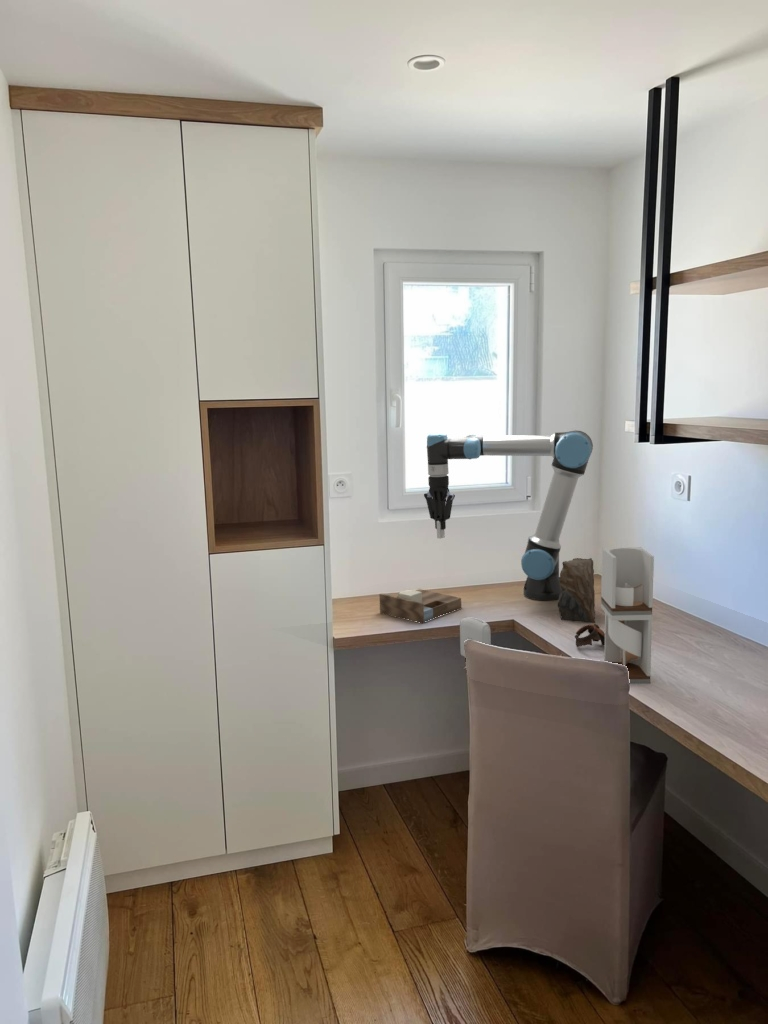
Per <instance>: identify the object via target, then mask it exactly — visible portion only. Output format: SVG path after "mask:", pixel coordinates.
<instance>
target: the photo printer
mask: <svg viewBox="0 0 768 1024" xmlns="http://www.w3.org/2000/svg"><path fill="white" fill-rule="evenodd" d="M491 635H492V634H491V626H490V624H488V623H487V622H486V621H484V620H483V619H481V618H477V617H471V616H468V617H465V618H462V619H461V620H460V623H459V642H460V643H459V645H460V646H459V647H460V648H459V649H460V655H461V656H462V657H465V650H464V641H465V640H467V639H471V640H477V641H479V642H482V643H485V644H489V645H491V643H492V642H491V637H492V636H491ZM491 646H492V645H491ZM465 658H466V657H465Z"/></svg>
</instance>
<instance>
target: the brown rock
mask: <svg viewBox="0 0 768 1024" xmlns="http://www.w3.org/2000/svg"><path fill="white" fill-rule="evenodd" d="M561 565H562V568H561V570H560V572H559V577H560V578H559V582H560V586H561V588H562V591H561V593H560V594H559V599H557V608H558V611H559V614H560V619H561V621H566V622H568V621H569V622H578V623H584V624H585V623H586V624H588V623H590V624H596V622H595V619H596V610H595V609H596V607H595V600H596V599H595V586H594V585H595V577H594V576H595V574H594V573H595V569H594V560H593V559H592V558H591V557H590V558H579V557H576V558H572V559H571V560H564V561H562V563H561Z"/></svg>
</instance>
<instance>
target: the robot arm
mask: <svg viewBox="0 0 768 1024" xmlns="http://www.w3.org/2000/svg"><path fill="white" fill-rule="evenodd" d="M593 447H594V445H593V440H592V438H591V437H590V435H589V434H587V433H586V432H585V431H582V430H571V431H563V432H554V433H553V434H551V435H546V434H543V435H542V434H541V435H540V434H539V435H538V434H535V435H476V434H475V435H474V434H469V435H467V436H465V437H462V438H448V435H447V434H446V433H431V434H428V435H427V437H426V451H427V453H426V454H427V472H428V473H427V474H428V478H427V479H428V486H429V488H428V491H427V492H426V493H424V494H423V497H424V499H425V502H426V505H427V508H428V513H429V518H430V519H433V520H434V526H435V527H434V528H435V529H436V538H437V539H444V538H445V536H446V535H445V534H446V533H445V530H446V527H447V526H446V525H447V524H446V521H447V520H450V519H451V515H452V514H451V513H452V509H453V501H454V499H455V496H456V495H455V494H454V493H451V492H450V489H449V485H450V481H449V479H450V478H449V460H476V459H479V458H480V457H481V456H483V457H484V456H501V457H502V456H505V457H506V456H507V457H511V456H512V457H513V456H514V457H516V456H517V457H524V456H525V457H526V456H527V457H530V456H531V457H538V456H539V457H552V458H553V459H552V462H551V468H552V470H553V474H552V477H551V481H550V484H549V488H548V490H547V494H546V496H545V500H544V504H543V507H542V511H541V514H540V517H539V520H538V523H537V526H536V530H535V533H534V534H532V535H531V536H528V538H527V544H526V547H525V548H526V549H525V551H524V554H523V555H522V556H521V563H520V564H521V569H522V571H523V573H524V574H525V575H526V580H525V583H524V586H523V591H522V592H523V593H522V594H523V596H524V597H525V598H528V599H531V600H538V601H539V600H540V601H552V600H559V594H560V593H561V591H562V588H561V586H560V582H559V578H560V551H561V548H562V545H561V544H560V537H561V533H562V530H563V527H564V524H565V522H566V518H567V515H568V512H569V508H570V505H571V503H572V498H573V496H574V493H575V489H576V486H577V483H578V479H579V478H580V477H583V476H584V475H585V473H586V470H587V466H588V464H589V460H590V458H591V455H592V453H593V449H594V448H593Z"/></svg>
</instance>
